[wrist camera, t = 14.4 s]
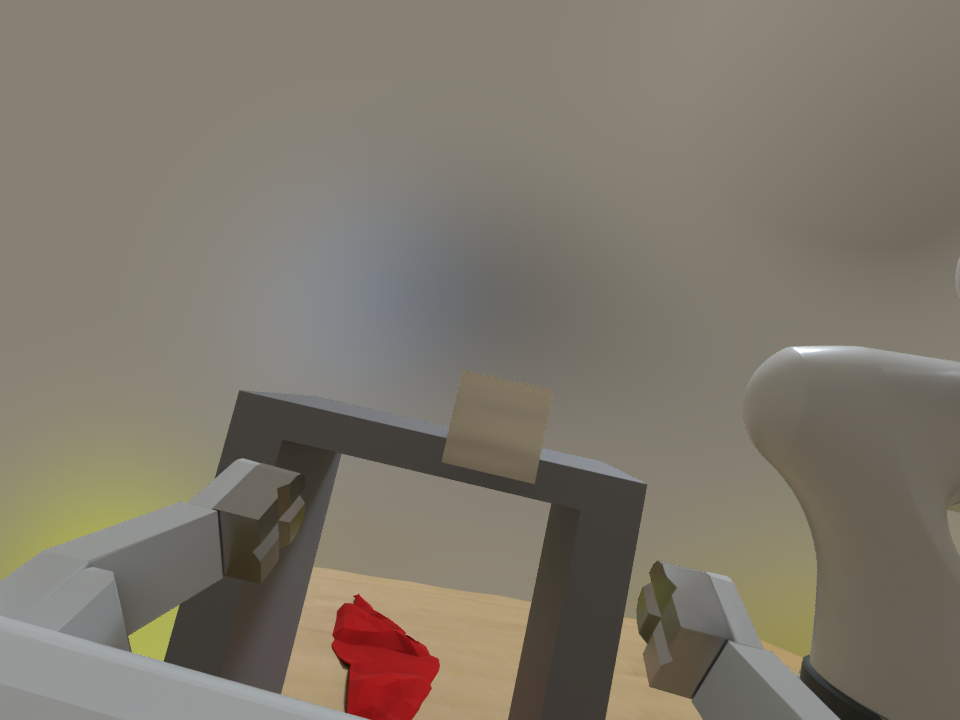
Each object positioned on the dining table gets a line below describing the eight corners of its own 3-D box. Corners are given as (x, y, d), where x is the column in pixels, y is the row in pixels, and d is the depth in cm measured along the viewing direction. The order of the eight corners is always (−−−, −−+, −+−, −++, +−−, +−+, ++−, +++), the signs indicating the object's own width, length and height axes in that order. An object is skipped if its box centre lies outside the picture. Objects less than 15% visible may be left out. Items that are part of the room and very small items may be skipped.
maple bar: (478, 429, 38) (486, 395, 38) (512, 437, 38) (520, 403, 38) (441, 462, 14) (462, 370, 14) (534, 484, 14) (553, 390, 14)
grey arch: (221, 757, 31) (316, 396, 34) (528, 847, 30) (602, 461, 32) (91, 919, 21) (239, 390, 24) (542, 1067, 20) (647, 484, 22)
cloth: (452, 775, 35) (459, 745, 35) (272, 758, 33) (280, 726, 33) (432, 612, 60) (436, 595, 61) (330, 597, 58) (335, 579, 59)
